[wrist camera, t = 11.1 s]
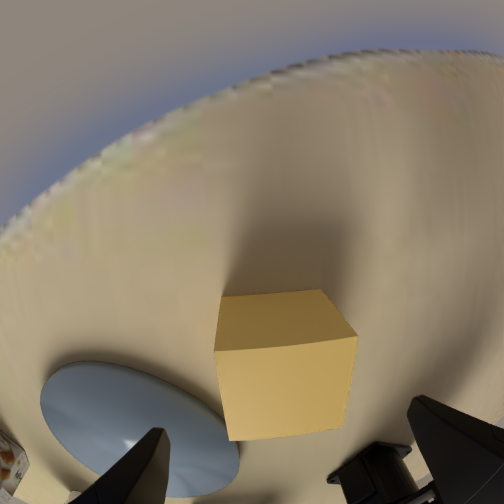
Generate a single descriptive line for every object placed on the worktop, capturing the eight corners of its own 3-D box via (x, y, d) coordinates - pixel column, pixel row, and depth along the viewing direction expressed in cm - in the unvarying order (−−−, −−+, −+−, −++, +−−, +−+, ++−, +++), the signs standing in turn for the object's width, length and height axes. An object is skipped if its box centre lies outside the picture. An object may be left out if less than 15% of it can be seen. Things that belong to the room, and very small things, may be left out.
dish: (282, 429, 16) (285, 441, 15) (187, 500, 18) (186, 509, 17) (62, 314, 13) (52, 323, 12) (42, 429, 16) (38, 437, 14)
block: (316, 367, 15) (341, 427, 10) (230, 375, 15) (229, 441, 10) (320, 288, 14) (358, 335, 9) (221, 296, 14) (213, 351, 9)
